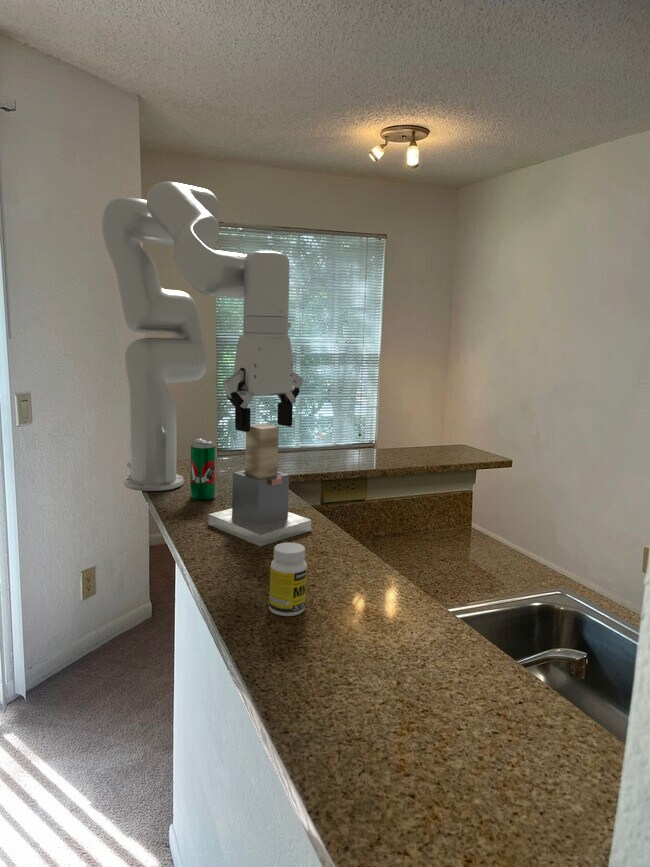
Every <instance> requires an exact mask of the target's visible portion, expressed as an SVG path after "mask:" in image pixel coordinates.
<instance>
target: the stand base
mask: <svg viewBox="0 0 650 867" xmlns="http://www.w3.org/2000/svg"><path fill="white" fill-rule="evenodd" d="M289 486H290V474H288V473H285V472H282V471H279V470H277V475H275V476H270V477H265V478H261V479H259V478H256V477H253V476H250V475H246V474H245V469H244V470H238V471H235V472H232V493H231V494H232V502H231V505H232V506H231V508H228V509H224V510H219V511H216V512H212V513H209V514H208V526H210V527H213V528H215V529H218V530H220V531H223V532H225V533H227V534H229V535H232V536H235V537H237V538H240V539H242V540H244V541H246V542H249V543H251V544H253V545H256V546H258V547H263V546H266V545H269V544H273V543H275V542H280V541H282V540H286V539H288V538H292V537H294V536H297V535H301V534H304V533H309V532H311V531H312V519H310V518H307V517H304V516H301V515H298V514H295V513H292V512H290V511H289V492H290V491H289V489H290V487H289Z"/></svg>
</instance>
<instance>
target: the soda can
mask: <svg viewBox="0 0 650 867" xmlns="http://www.w3.org/2000/svg"><path fill="white" fill-rule="evenodd" d="M189 463H190V464H189V466H190V474H189V477H190V478H189V480H190V481H189V482H190V484H189V485H190V486H189V488H190V489H189V491H190V492H189V494H190V495H189V497H190V498H192V500H194V501H197V500H198V502H208V501H212V500H213V499H214V498H215V497H216V490H217V489H216V486H217V485H216V478H217V477H216V476H217V474H216V472H217V445H216V443H215V440H214V439H212V438H211V439H209V438H196V439H193V440H192V443H191V445H190V462H189Z"/></svg>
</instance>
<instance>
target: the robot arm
mask: <svg viewBox="0 0 650 867" xmlns="http://www.w3.org/2000/svg"><path fill="white" fill-rule="evenodd" d="M221 216H222V209H221V204H220V202H219V199H218V198H217V197H216V195H215V194H214V193H213V192H212V191H210V190H209V189H206V188H203V187H199V186H198V187H197V186H194V185H188V184H185V183H181V182H176V181H175V182H174V181H162V182H159V183H156V184H155V185H153V186H152V187H151V188H150V189H149V191H148V192H147V196H146V199H142V198H138V197H127V196H125V197H117V198H114V199H112V200H110V201H109V202H108V203H107V204H106V206H105V207H104V210H103V215H102V222H101V227H102V228H101V229H102V236H103V242H104V245H105V248H106V251H107V253H108V255H109V258H110V259H111V260H110V261H111V262H112V265H113V267H114V271H115V276H116V279H117V286H118V289H119V290H118V291H119V295H120V301H121V307H122V311H123V316H124V320H125V324H126V325H127V327H128V328H129V329H130V330H131V331H133V332H135V333H138V334H139V333H140V334H158V335H160V334H161V335H164V334H165V335H167V334H168V335H171V337H143V338H138V339H135V340H134V341H132V342H131V343H129V345H128V346H127V347H126V349H125V352H124V364H125V369H126V376H127V380H128V387H129V403H130V405H129V407H130V408H129V410H130V461H129V462H127V463H126V467H127V468H128V469H129V470H130V475H128V476H125V478H124V479H123V485H124V487H126V488H127V489H131V490H134V491H140V492H141V491H142V492H161V491H168V490H174V489H177V488H179V487H182V486H183V485H184V482H185V481H184V477H183V476H182V475H180V474H178V473H177V436H178V435H177V434H178V433H177V429H178V428H177V426H178V425H177V424H178V423H177V420H178V417H177V416H178V415H177V414H178V413H177V408H178V407H177V402H176V399H175V397H174V395H173V394H172V391H171V390H170V388H169V387H168V385H167V384H170V383H190V382H195V381H199V380H200V379H201V378H203V377H204V375H205V374H206V371H207V368H208V367H207V366H208V354H207V349H206V344H205V337H204V333H203V328H202V322H201V318H200V312H199V309H198V306H197V303H196V302H195V300H194V299H193V297H192V296H191V295H190V294H189V293H187V292H185V291H183V290H178V289H177V290H176V289H166V288H163V287H162V285H161V281H160V277H159V272H158V268H157V266H156V264H155V261H154V260H153V259H152V257H151V256H150V254H149V253H148V252H147V251H146V250H145V248H143V247H142V246H141V243H147V244H154V245H161V246H162V245H163V246H168V247H173V257H174V261H175V265H176V269H177V270H178V273H179V274H180V275H181V276H182V278H184V280H185V281H186V282H187V283H188V284H189V285H190V286H191V287H192V288H193V289H195V290H196V291H197V292H199V293H201V294H202V295H205V296H212V297H224V298H225V297H226V298H237V299H243V333H242V334H243V335H239V337H238V341H237V345H236V350H235V358H234V367H233V368H234V369H233V374H232V375H230V376H228V377H227V378H226V379H224V380H223V381H222V387H223V390H224V391H225V393H226V398H227V399H228V401H230V403H231V406H232V407H234V428H235V430H236V431H238V432H239V431H240V432H244V433H246V432H249V431H250V425H251V408H250V407H248V406H249V405H250V403H251V401H252V400H253V398H254V397H263V396H277V398H278V399H279V401H281V402H277V425H279V426H283V427H292V426H293V408H294V406H293V405H294V404H296V402H297V401H296V399H297V397H298V396H299V394H300V392H301V387H302V385H303V382H304V378H303V377H302V376H300V375H299V374H298V373H296V372H295V371H294V365H293V364H294V362H293V349H292V343H291V338H290V336H289V330H290V329H291V326H292V324H291V322H289V312H290V311H289V308H290V307H289V305H290V304H289V302H290V259H289V258H288V256H287V255H286V254H284V253H282V252H278V251H272V250H271V251H269V250H268V251H267V250H257V251H250V252H248V254H244V253H239V252H233V251H232V252H231V251H224V250H215V249H212V248H213V247H214V246H215V245H216V244H217V242H218V239H219V236H220V226H219V223H220V221H221Z"/></svg>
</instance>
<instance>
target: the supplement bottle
mask: <svg viewBox="0 0 650 867" xmlns="http://www.w3.org/2000/svg"><path fill="white" fill-rule="evenodd" d="M305 559H306V547H305V546H304V545H303V544H300V543H297V542H281V543H278V544H276V545H275V546H274V548H273V560H272V561H271V564H270V567H269V568H270V574H269V596H268V597H269V598H268V609H269V610H270V612H272V613H273V614H275V615H278V616H283V617H294V616H297V615H300V614H302V613H303V612H304V611H305V609H306V595H307V578H308V577H307V575H308V574H307V572H308V564H307V562H306V560H305Z"/></svg>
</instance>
